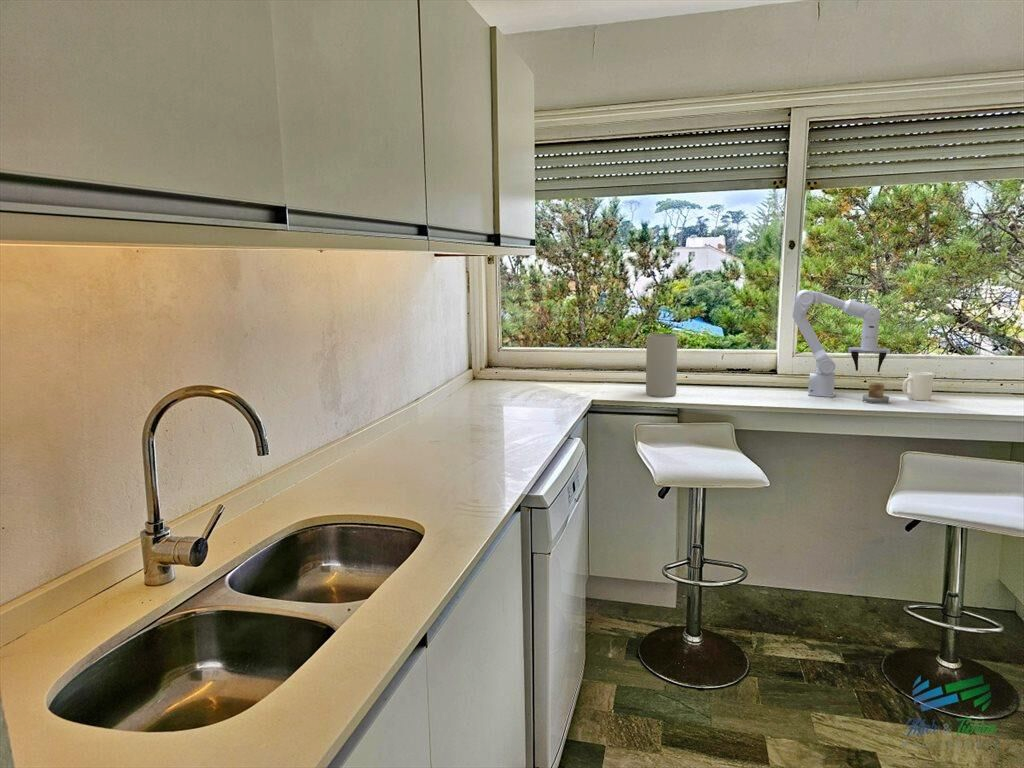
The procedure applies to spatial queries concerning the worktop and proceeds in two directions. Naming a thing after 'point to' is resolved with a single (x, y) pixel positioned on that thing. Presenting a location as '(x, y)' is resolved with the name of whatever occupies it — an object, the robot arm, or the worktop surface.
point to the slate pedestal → (876, 399)
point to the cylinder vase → (661, 365)
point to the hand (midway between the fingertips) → (867, 371)
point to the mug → (918, 385)
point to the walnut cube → (876, 390)
